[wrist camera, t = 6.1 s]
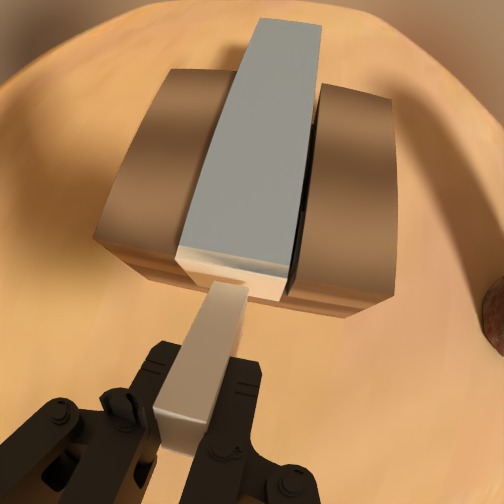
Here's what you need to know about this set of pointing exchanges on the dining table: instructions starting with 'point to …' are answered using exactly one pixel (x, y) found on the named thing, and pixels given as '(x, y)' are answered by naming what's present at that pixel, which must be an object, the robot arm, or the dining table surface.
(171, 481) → the dining table surface
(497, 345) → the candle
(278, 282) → the peg
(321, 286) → the guide block
